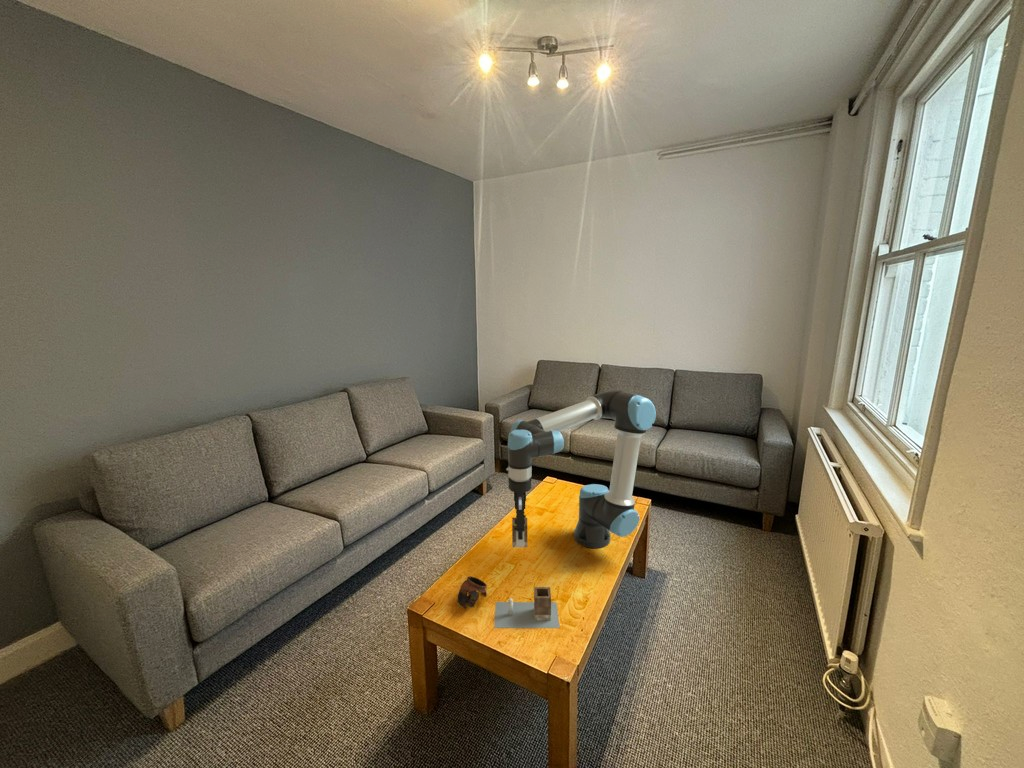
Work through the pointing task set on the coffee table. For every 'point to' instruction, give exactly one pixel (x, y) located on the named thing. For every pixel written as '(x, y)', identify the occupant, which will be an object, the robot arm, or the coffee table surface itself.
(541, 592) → the sleeve seated
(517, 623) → the pin board
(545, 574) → the coffee table surface
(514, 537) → the sleeve loose
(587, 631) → the coffee table surface
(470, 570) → the coffee table surface
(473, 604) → the pottery mug
